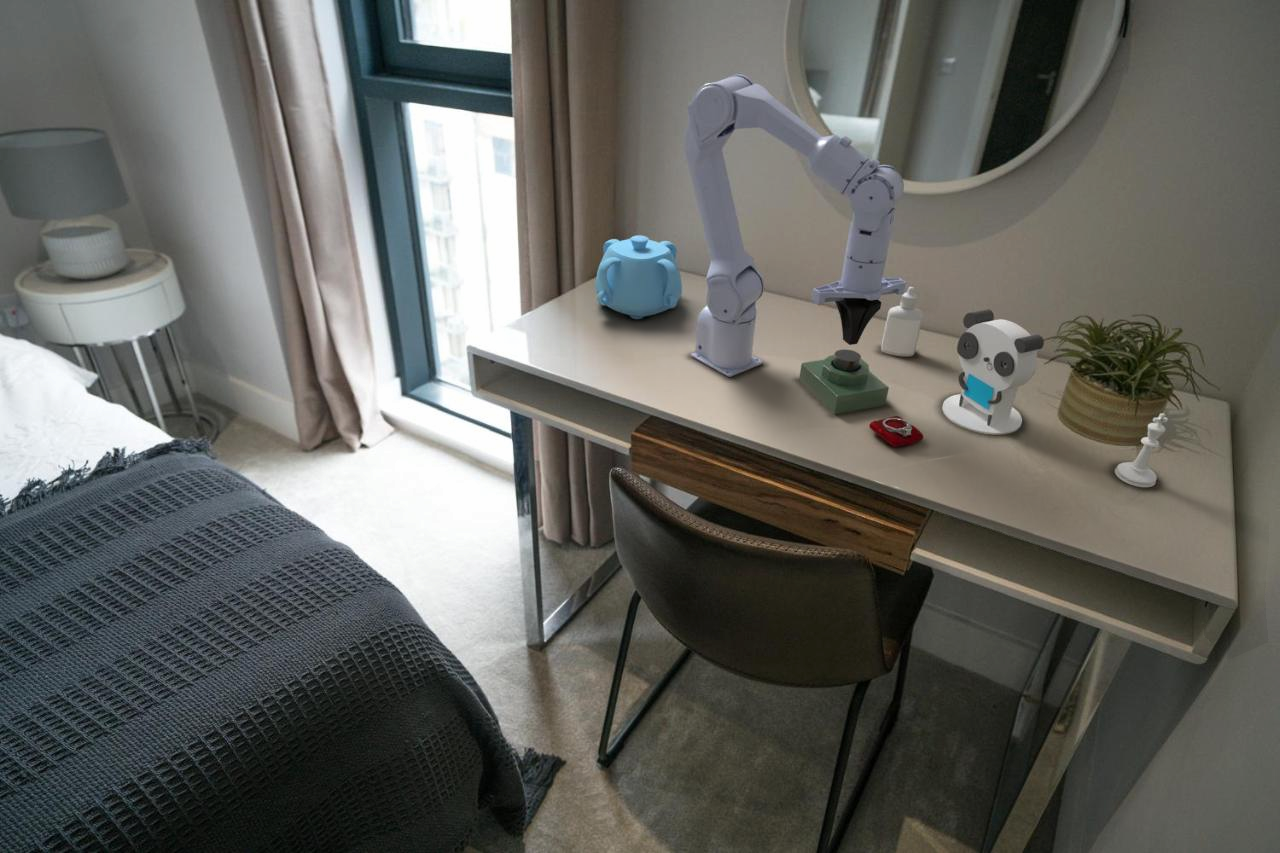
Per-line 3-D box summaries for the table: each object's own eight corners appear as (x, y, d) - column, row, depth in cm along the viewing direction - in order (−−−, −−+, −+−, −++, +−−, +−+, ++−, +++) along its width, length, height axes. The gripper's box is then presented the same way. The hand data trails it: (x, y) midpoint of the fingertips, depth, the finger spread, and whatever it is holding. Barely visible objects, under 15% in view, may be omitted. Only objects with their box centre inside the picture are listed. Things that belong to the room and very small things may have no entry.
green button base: (798, 380, 128) (802, 352, 125) (847, 372, 130) (852, 345, 127) (834, 414, 119) (839, 385, 116) (885, 405, 121) (891, 377, 119)
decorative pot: (587, 320, 145) (585, 249, 138) (604, 286, 159) (604, 220, 151) (674, 328, 143) (677, 256, 136) (684, 293, 157) (688, 226, 149)
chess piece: (1107, 466, 109) (1133, 404, 103) (1140, 465, 109) (1168, 403, 104) (1128, 488, 105) (1156, 425, 99) (1163, 487, 105) (1193, 423, 100)
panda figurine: (923, 401, 123) (945, 313, 114) (979, 388, 126) (1004, 301, 118) (979, 441, 113) (1007, 348, 105) (1038, 425, 117) (1069, 334, 109)
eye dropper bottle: (905, 361, 134) (920, 296, 127) (876, 350, 137) (889, 286, 130) (918, 353, 136) (933, 288, 130) (888, 342, 140) (902, 279, 133)
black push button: (827, 362, 123) (829, 351, 122) (849, 359, 124) (852, 347, 123) (841, 374, 120) (843, 362, 119) (863, 371, 121) (866, 359, 120)
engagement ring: (893, 452, 111) (897, 435, 109) (865, 431, 115) (868, 415, 113) (924, 442, 113) (928, 426, 111) (895, 422, 117) (899, 406, 116)
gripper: (836, 271, 107) (821, 360, 114) (925, 260, 111) (906, 346, 119) (810, 253, 113) (798, 339, 120) (896, 244, 117) (879, 327, 124)
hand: (850, 341), depth 120 cm, fingers closed
